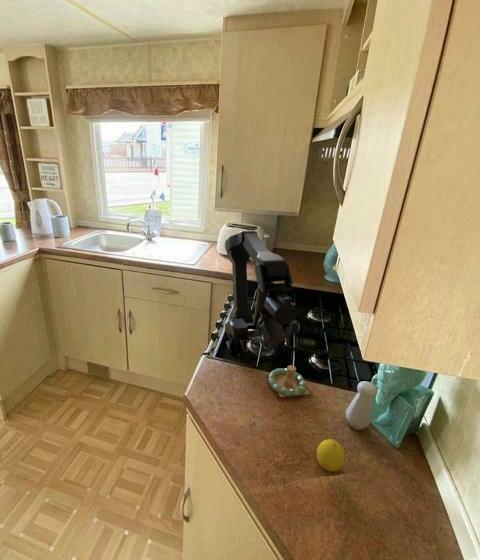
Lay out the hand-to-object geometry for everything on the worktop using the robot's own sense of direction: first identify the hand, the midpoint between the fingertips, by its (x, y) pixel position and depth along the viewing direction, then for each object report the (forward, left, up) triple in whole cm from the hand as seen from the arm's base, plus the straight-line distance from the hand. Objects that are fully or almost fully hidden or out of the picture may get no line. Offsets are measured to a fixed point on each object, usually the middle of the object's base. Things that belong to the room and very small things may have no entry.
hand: (259, 351), depth 89 cm
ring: (+3, +9, -10) cm, 13 cm away
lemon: (+28, +7, -12) cm, 31 cm away
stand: (+3, +9, -12) cm, 15 cm away
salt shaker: (+18, +21, -12) cm, 30 cm away
